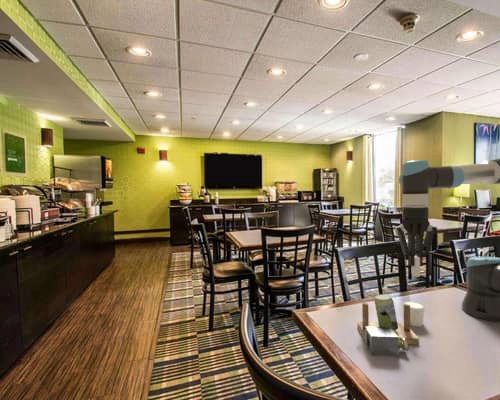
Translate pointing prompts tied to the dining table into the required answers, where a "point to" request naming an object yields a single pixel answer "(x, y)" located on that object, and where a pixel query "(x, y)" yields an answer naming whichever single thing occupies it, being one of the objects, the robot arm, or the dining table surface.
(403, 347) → the pin
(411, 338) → the peg stand
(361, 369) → the dining table surface
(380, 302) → the beverage can
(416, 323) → the beige tapered cylinder
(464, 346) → the dining table surface
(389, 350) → the slot block
